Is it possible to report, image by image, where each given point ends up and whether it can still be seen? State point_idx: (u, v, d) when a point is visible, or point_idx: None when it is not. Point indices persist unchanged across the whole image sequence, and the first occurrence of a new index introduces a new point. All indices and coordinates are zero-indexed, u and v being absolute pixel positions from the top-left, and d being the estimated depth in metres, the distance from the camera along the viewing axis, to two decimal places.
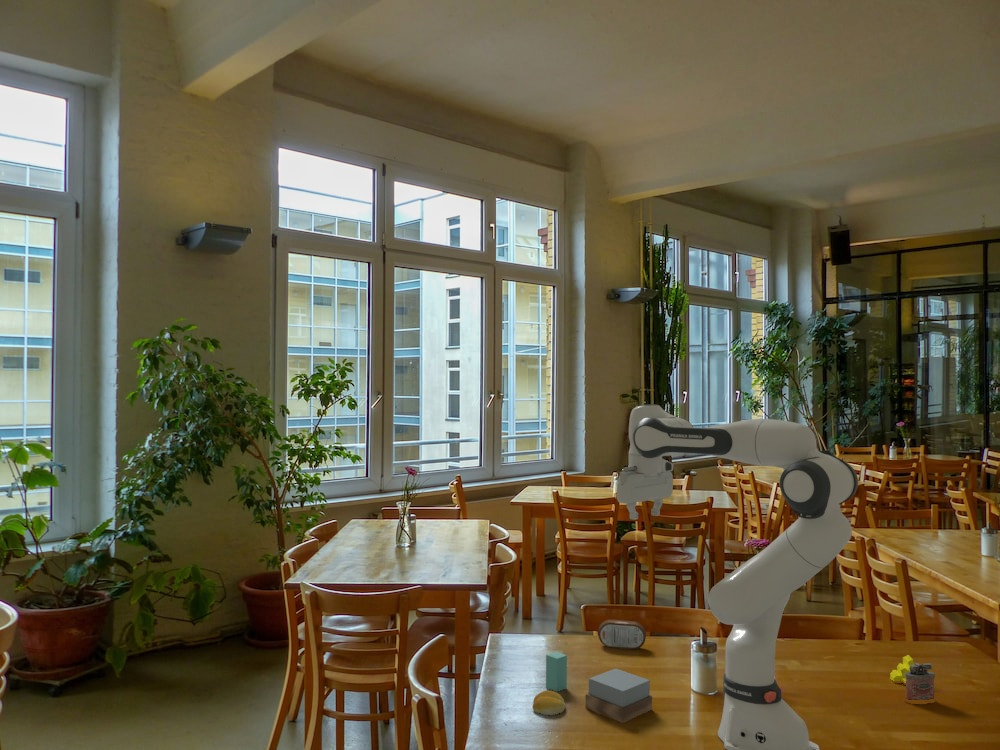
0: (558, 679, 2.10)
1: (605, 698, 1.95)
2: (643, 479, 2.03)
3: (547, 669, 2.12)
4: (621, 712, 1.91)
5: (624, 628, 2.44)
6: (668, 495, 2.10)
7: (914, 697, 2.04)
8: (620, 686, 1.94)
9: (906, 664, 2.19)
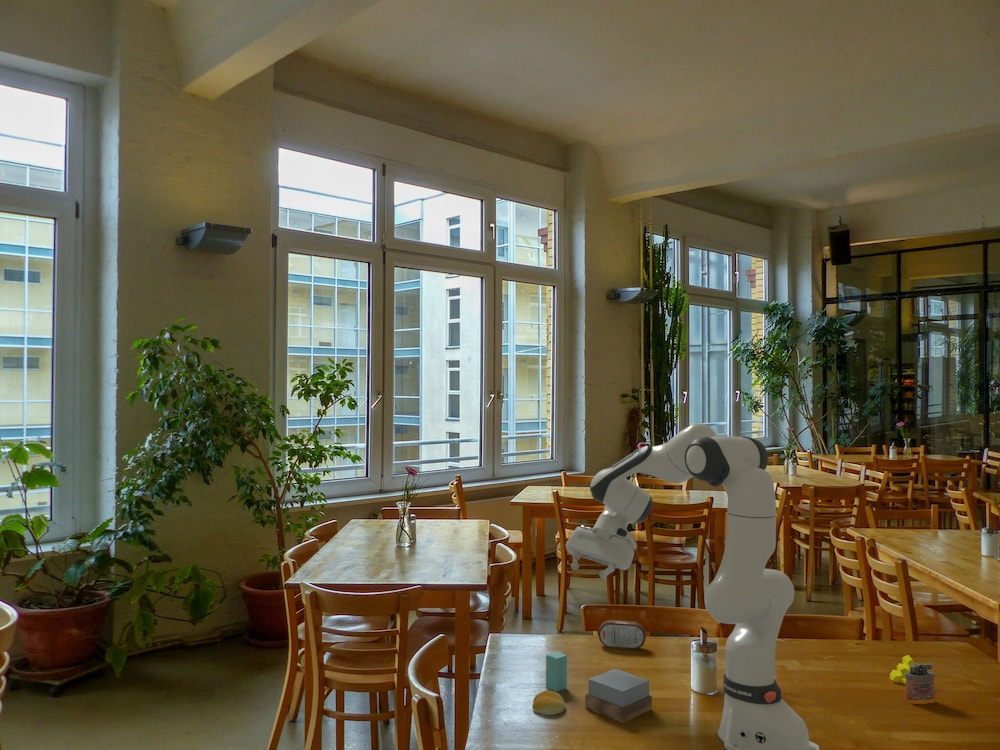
0: (558, 679, 2.10)
1: (605, 698, 1.95)
2: (592, 536, 2.25)
3: (547, 669, 2.12)
4: (621, 712, 1.91)
5: (624, 628, 2.44)
6: (618, 561, 2.15)
7: (914, 697, 2.04)
8: (620, 687, 1.94)
9: (906, 664, 2.19)
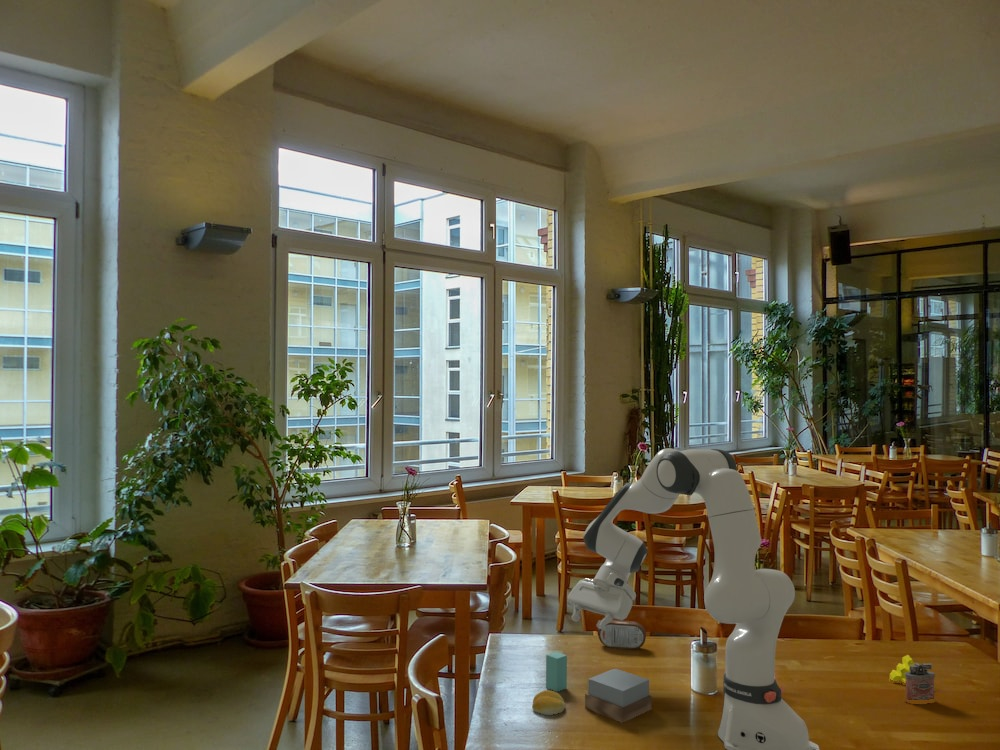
0: (558, 679, 2.10)
1: (605, 698, 1.95)
2: (592, 587, 2.27)
3: (547, 669, 2.12)
4: (621, 712, 1.91)
5: (624, 628, 2.44)
6: (614, 610, 2.16)
7: (914, 697, 2.04)
8: (620, 686, 1.94)
9: (906, 664, 2.19)
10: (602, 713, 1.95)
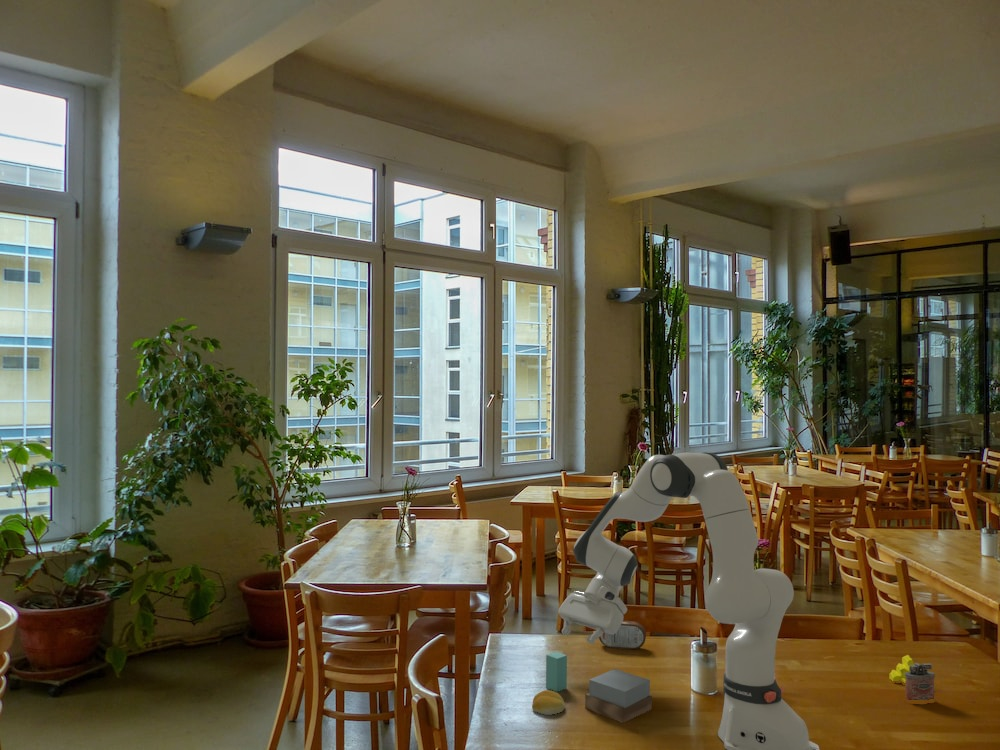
0: (558, 679, 2.10)
1: (606, 699, 1.95)
2: (583, 601, 2.24)
3: (547, 669, 2.12)
4: (621, 712, 1.91)
5: (624, 628, 2.44)
6: (605, 625, 2.14)
7: (914, 697, 2.04)
8: (622, 687, 1.94)
9: (905, 664, 2.19)
10: (602, 713, 1.95)
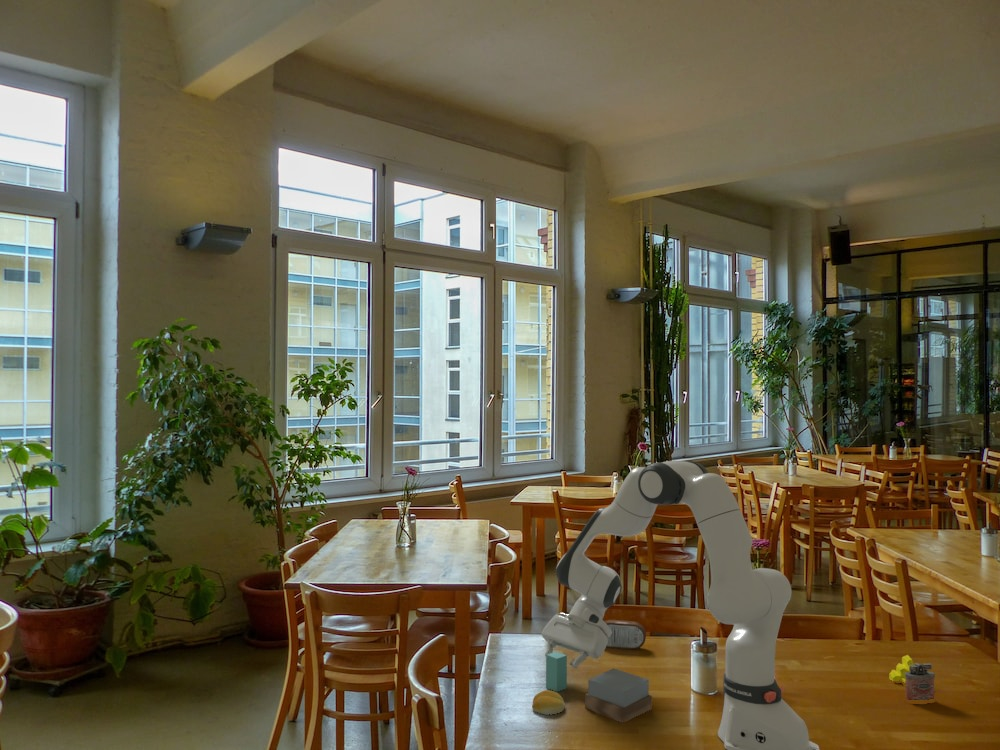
0: (558, 679, 2.10)
1: (605, 699, 1.95)
2: (567, 623, 2.20)
3: (547, 669, 2.12)
4: (621, 712, 1.91)
5: (624, 628, 2.44)
6: (588, 649, 2.09)
7: (914, 697, 2.04)
8: (621, 687, 1.94)
9: (905, 664, 2.19)
10: (602, 713, 1.95)
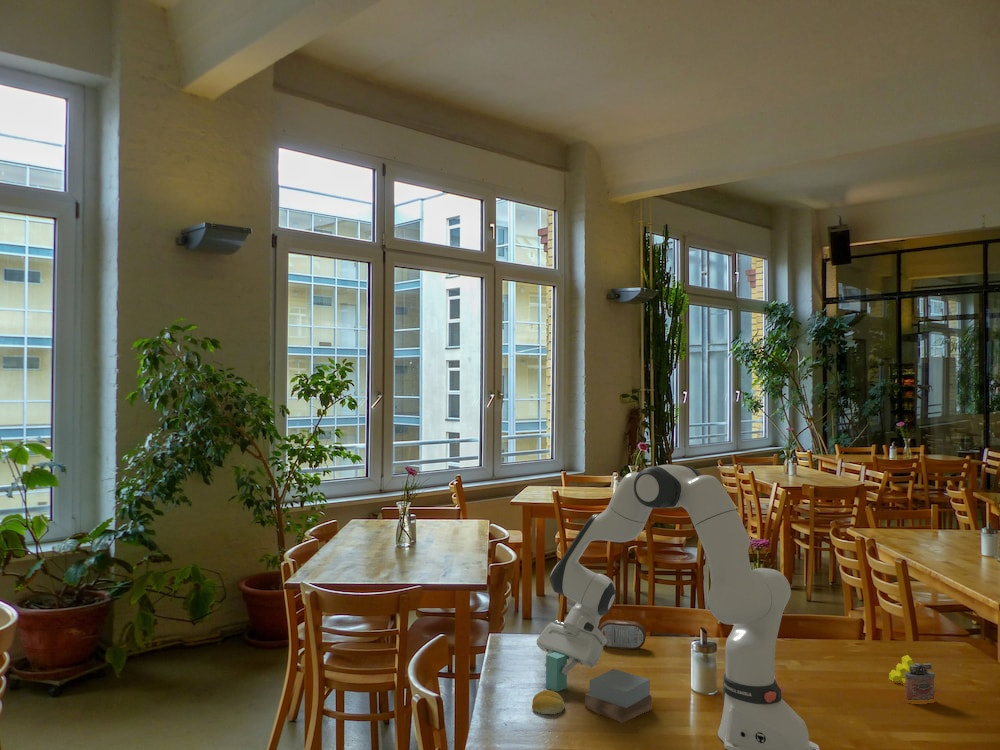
0: (558, 679, 2.10)
1: (607, 699, 1.94)
2: (562, 631, 2.18)
3: (547, 669, 2.12)
4: (621, 712, 1.91)
5: (624, 628, 2.44)
6: (583, 657, 2.08)
7: (914, 697, 2.04)
8: (622, 687, 1.93)
9: (905, 664, 2.19)
10: (602, 713, 1.95)
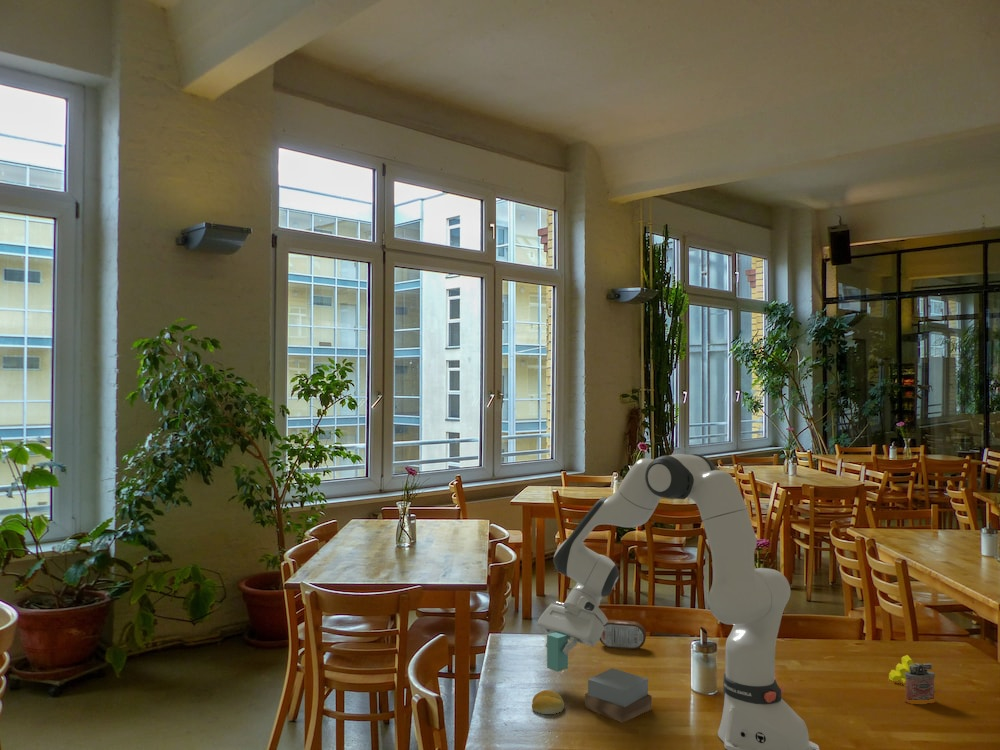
0: (559, 659, 2.10)
1: (606, 698, 1.95)
2: (562, 611, 2.18)
3: (548, 649, 2.12)
4: (621, 712, 1.91)
5: (624, 628, 2.44)
6: (584, 636, 2.07)
7: (914, 697, 2.04)
8: (621, 686, 1.94)
9: (905, 664, 2.19)
10: (602, 713, 1.95)
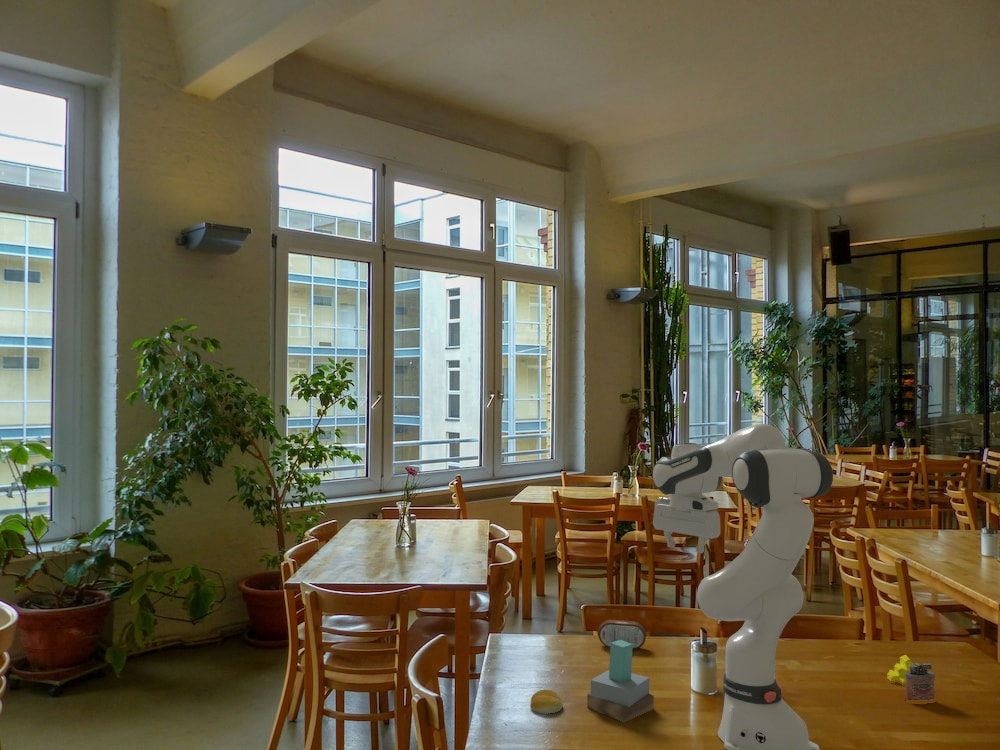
0: (623, 669, 1.97)
1: (609, 699, 1.95)
2: (672, 511, 2.19)
3: (611, 658, 1.99)
4: (623, 711, 1.91)
5: (624, 628, 2.44)
6: (707, 535, 2.10)
7: (914, 697, 2.04)
8: (625, 686, 1.94)
9: (903, 664, 2.19)
10: (604, 713, 1.95)
